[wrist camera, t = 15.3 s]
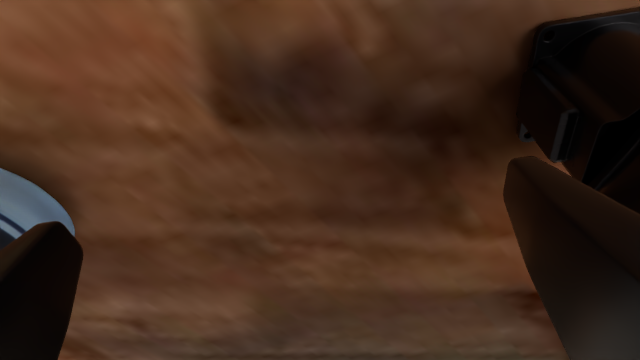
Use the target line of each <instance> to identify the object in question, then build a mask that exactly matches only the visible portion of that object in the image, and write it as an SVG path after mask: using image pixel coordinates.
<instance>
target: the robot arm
mask: <svg viewBox="0 0 640 360" xmlns="http://www.w3.org/2000/svg"><path fill="white" fill-rule="evenodd" d="M550 30H551V33H550V35H549V36H548V37H546V38H544V35H545V33H547V32H548V31H550ZM516 115H517V117H518V118H519V121H518V126H517V132H516V133H517V136H518V137H519V139H520V140H521V141H523V142H531V141H536V143H537V144H538V145H539V147H540V148H541V150H542V151H543V152H544V154H545V155H546V156H547V158H548V159H549V160H551V161H552V162H553V163H557V162H561V163H562V164H563V166H564V167H565V168H566V170H567V171H568V172H569V174H570V175H571V176H572V177H571V176H569V175H568V174H566V173H564V172H562V171H560V170H558V169H557V168H555V167H553V166H551V165H549V164H548V163H546V162H544V161H542V160H540V159H538V158H536V157H534V156H528V157H521V158H514V159H512V160H510V162H509V164H508V168H507V173H506V179H505V185H504V191H503V196H504V202H505V205H506V208H507V211H508V214H509V217H510V220H511V223H512V226H513V229H514V232H515V235H516V238H517V241H518V244H519V247H520V250H521V253H522V256H523V259H524V262H525V264H526V267H527V270H528V272H529V274H530V277H531V279H532V281H533V283H534V286H535V288H536V290H537V292H538V294H539V296H540V298H541V300H542V302H543V304H544V306H545V308H546V311H547V313H548V315H549V317H550V319H551V321H552V323H553V325H554V327H555V329H556V331H557V333H558V336H559V338H560V340H561V342H562V344H563V346H564V348H565V350H566V352H567V354H568V356H569V359H570V360H640V7H639V8H633V9H626V10H620V11H614V12H607V13H601V14H595V15H589V16H582V17H576V18H570V19H564V20H557V21H551V22H546V23H543V24H542V25H540V26H539V27H538V28H537V30H536V32H535V34H534V39H533V45H532V50H531V56H530V61H529V67H528V69H527V70H526V71H525V72H524V74H523V79H522V85H521V91H520V96H519V102H518V107H517V113H516ZM527 131H528V132H529V133H528V134H525V133H526V132H527ZM82 261H83V249H82V247H81V245H80V244H79V242H78V241H77V240H76V239H75V237H74V236H73V235H72V234H71V233H70V231H69V230H68V229H67V228H66V226H65V225H64V224H63V223H61V222H59V221H51V222H44V223H39V224H36V225H35V226H33V227H32V228H30V229H29V230H28V231H26V232H25V233H24V234H22V235H21V236H19V237H18V238H17V239H15V240H14V241H13V242H11V243H10V244H8V245H7V246H6V247H4V248H3V249H2V250H0V360H58V357H59V353H60V350H61V347H62V344H63V341H64V338H65V335H66V332H67V328H68V325H69V321H70V317H71V312H72V308H73V303H74V298H75V294H76V289H77V284H78V280H79V275H80V270H81V265H82Z"/></svg>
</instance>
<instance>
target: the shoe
mask: <svg viewBox="0 0 640 360" xmlns="http://www.w3.org/2000/svg"><path fill="white" fill-rule="evenodd" d="M51 221H59V222H61V223H63V224H64V225H65V226H66V228H67V229H68V230H69V231H70V233H71V234H72V235H73V236H74V237H75V229H74V225H73V222H72V220H71V218H70V216H69V215H68V213H67V212H66V211H65V209H64V208H63V207H62V206H61V205H60V204H59V203H58V202H57V201H56V200H55V199H54V198H53V197H51V196H50V195H49V194H48V193H46V192H45V191H44V190H43V189H41V188H40V187H38V186H37V185H35V184H34V183H32V182H30V181H28V180H26V179H24V178H22V177H20V176H18V175H16V174H14V173H12V172H9V171H7V170H4V169H1V168H0V250H2V249H3V248H4V247H6V246H7V245H8V244H10V243H11V242H13V241H14V240H15V239H17V238H18V237H19V236H21V235H22V234H24V233H25V232H26V231H28V230H29V229H30V228H32V227H33V226H35V225H36V224H39V223H44V222H51Z"/></svg>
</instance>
